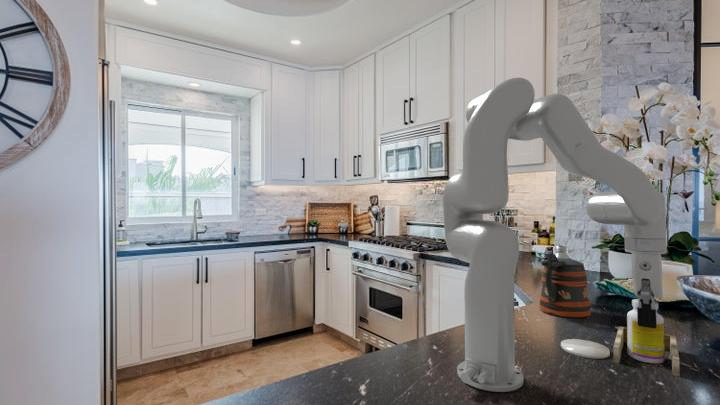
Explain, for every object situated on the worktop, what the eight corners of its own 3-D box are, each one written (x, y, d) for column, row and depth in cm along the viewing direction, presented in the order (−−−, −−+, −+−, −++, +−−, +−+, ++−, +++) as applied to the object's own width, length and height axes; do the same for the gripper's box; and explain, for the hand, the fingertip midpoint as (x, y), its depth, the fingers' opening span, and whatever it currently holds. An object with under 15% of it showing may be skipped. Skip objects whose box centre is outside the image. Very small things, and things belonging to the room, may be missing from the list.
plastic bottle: (572, 300, 133) (571, 245, 133) (571, 304, 127) (570, 247, 127) (552, 298, 136) (551, 244, 137) (550, 302, 131) (549, 246, 131)
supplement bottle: (671, 366, 79) (671, 306, 79) (637, 363, 80) (636, 304, 80) (653, 353, 86) (653, 298, 86) (621, 351, 87) (621, 297, 87)
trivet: (607, 362, 81) (607, 358, 81) (557, 351, 87) (556, 348, 87) (611, 348, 89) (611, 345, 89) (564, 339, 95) (564, 336, 95)
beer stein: (579, 325, 106) (578, 256, 106) (526, 314, 116) (526, 251, 116) (596, 312, 119) (595, 250, 119) (548, 303, 129) (547, 246, 129)
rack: (679, 376, 74) (679, 359, 74) (613, 362, 81) (613, 346, 81) (675, 350, 87) (675, 335, 87) (619, 339, 94) (619, 326, 94)
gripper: (667, 251, 74) (670, 335, 74) (665, 242, 88) (667, 314, 88) (622, 249, 79) (624, 328, 79) (626, 241, 92) (628, 309, 92)
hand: (647, 320), depth 83 cm, fingers open, 9 cm apart
